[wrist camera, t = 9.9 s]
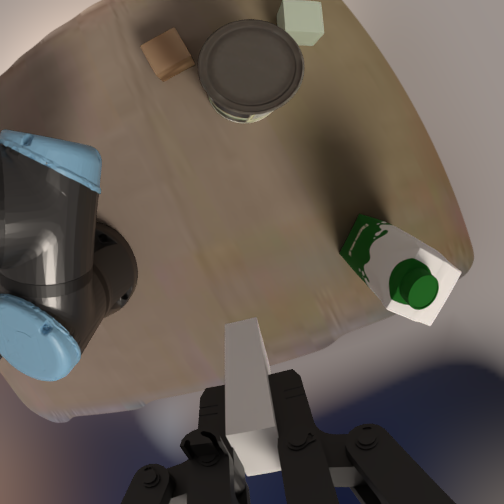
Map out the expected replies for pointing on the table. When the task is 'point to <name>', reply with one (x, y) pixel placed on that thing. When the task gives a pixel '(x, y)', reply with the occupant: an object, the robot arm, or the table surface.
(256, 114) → the coffee can
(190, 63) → the brown wooden cube
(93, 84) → the table surface
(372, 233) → the milk carton
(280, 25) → the sage block
